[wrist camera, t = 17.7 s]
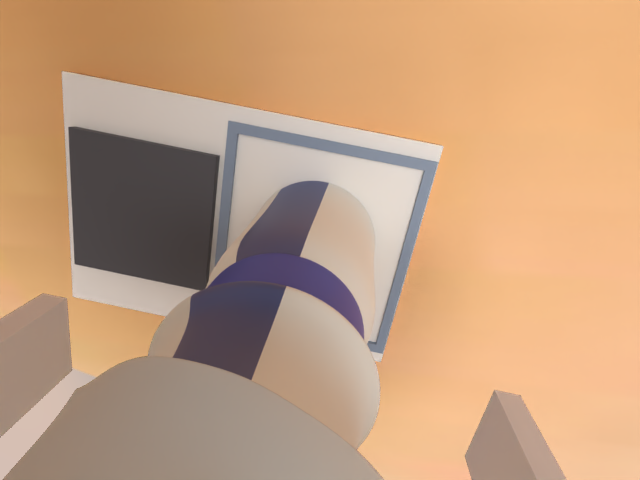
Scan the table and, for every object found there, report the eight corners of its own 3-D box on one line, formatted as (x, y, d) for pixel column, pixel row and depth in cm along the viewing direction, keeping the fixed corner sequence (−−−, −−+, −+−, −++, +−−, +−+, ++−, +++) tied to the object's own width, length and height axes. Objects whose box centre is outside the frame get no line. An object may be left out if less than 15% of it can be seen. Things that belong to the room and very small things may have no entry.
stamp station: (71, 72, 22) (53, 69, 21) (440, 145, 22) (445, 147, 21) (80, 291, 27) (66, 300, 26) (380, 354, 27) (381, 367, 26)
